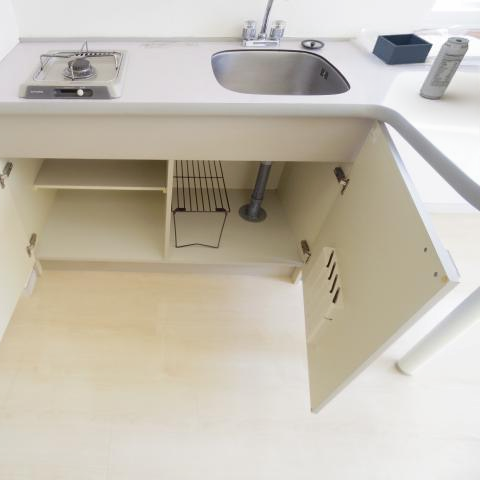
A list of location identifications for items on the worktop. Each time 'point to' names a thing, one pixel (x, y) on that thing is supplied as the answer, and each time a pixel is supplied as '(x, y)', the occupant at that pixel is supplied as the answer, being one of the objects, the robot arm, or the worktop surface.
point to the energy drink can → (444, 67)
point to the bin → (401, 48)
